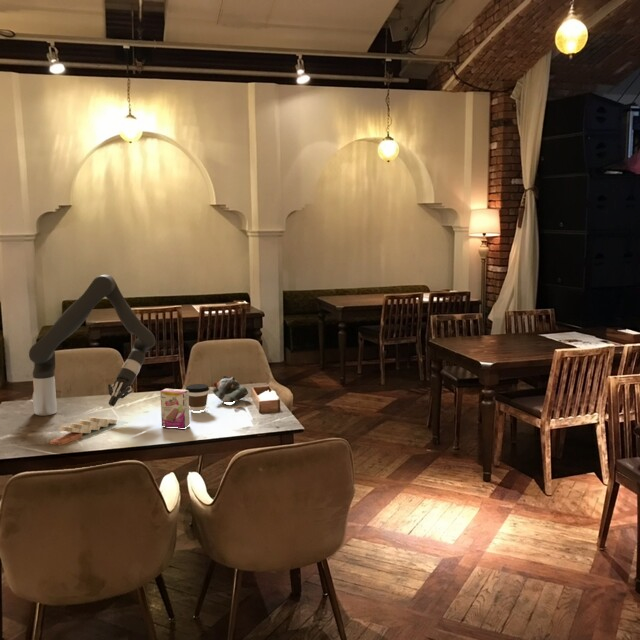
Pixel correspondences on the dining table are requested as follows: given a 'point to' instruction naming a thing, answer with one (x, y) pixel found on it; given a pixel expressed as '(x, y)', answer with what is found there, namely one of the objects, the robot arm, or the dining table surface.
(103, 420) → the domino
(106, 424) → the domino
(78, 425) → the domino
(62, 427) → the domino
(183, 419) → the candy bar box
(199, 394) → the coffee cup
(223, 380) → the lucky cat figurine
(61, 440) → the domino
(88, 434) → the domino board
